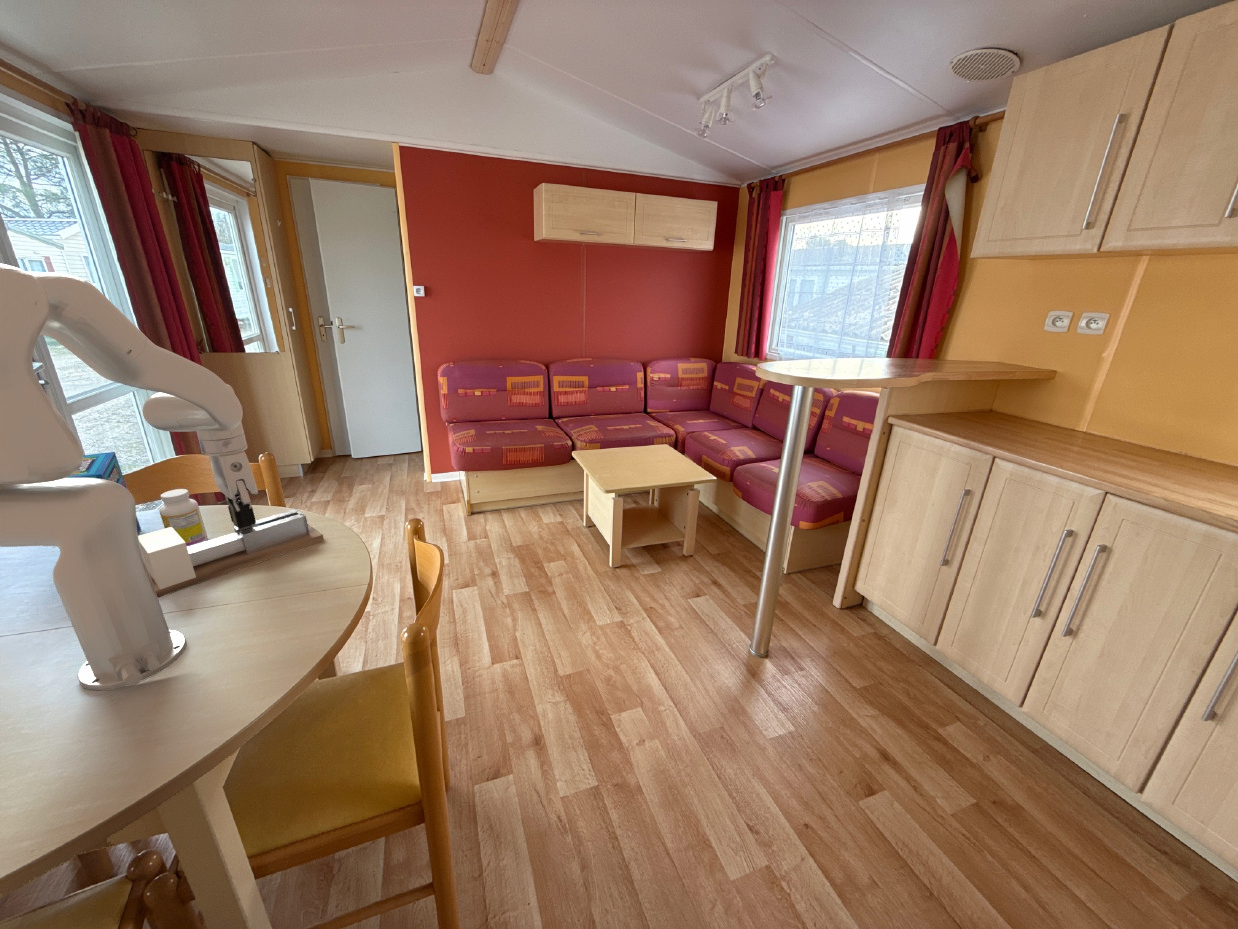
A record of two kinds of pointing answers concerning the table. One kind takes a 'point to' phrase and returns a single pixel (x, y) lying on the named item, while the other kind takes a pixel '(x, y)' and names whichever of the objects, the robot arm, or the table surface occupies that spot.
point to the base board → (239, 562)
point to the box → (102, 470)
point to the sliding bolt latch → (218, 544)
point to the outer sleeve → (274, 531)
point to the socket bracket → (166, 557)
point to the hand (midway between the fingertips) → (244, 522)
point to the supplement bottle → (183, 516)
